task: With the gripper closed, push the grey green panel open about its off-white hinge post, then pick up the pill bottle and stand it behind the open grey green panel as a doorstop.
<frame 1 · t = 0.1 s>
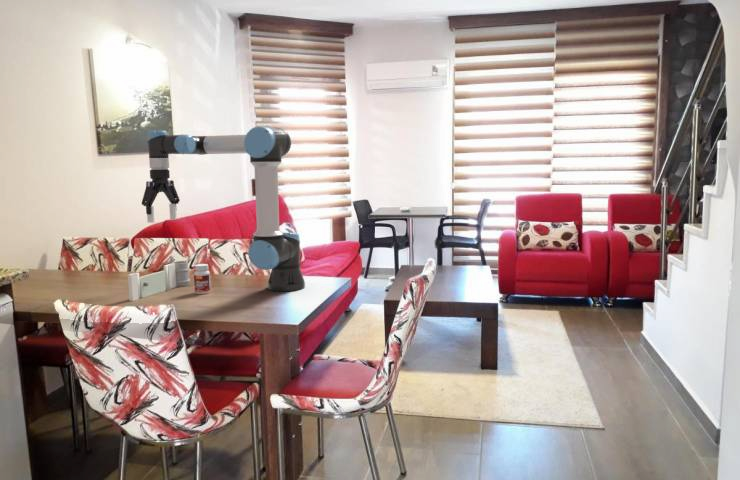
hand: (162, 220, 236), 28 cm above the table, fingers open, 13 cm apart
mug: (178, 284, 246), on the table
grey green panel: (153, 284, 227), point 4 cm above the table, hinge at 0.0°
frame: (166, 289, 236), on the table
pill bottle: (202, 293, 229), on the table
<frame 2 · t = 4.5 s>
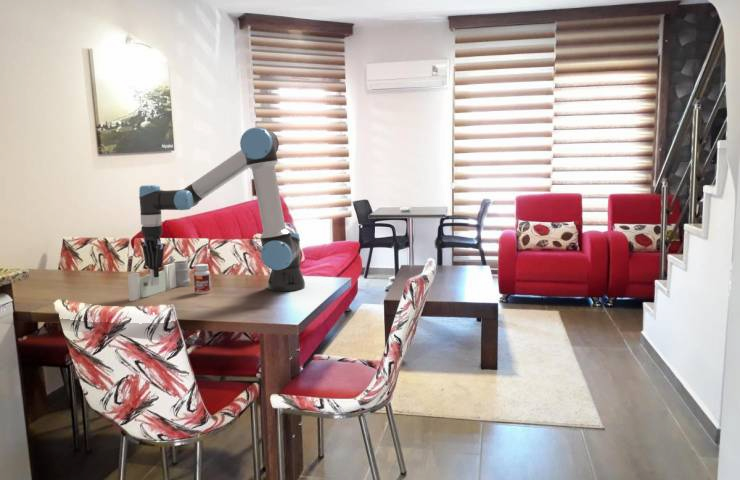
hand: (155, 285, 225), 4 cm above the table, fingers closed
grey green panel: (153, 284, 227), point 4 cm above the table, hinge at 0.0°, touching gripper
everything else where it was.
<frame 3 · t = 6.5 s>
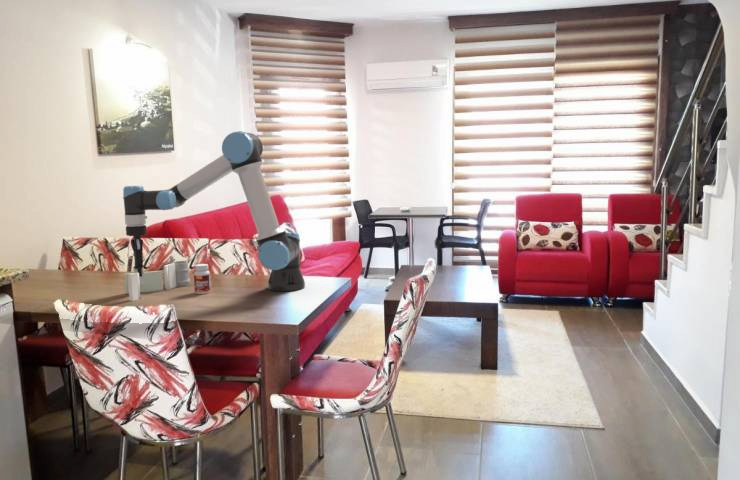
hand: (140, 284, 228), 4 cm above the table, fingers closed
grey green panel: (144, 282, 231), point 4 cm above the table, hinge at 43.5°, touching gripper
everything else where it was.
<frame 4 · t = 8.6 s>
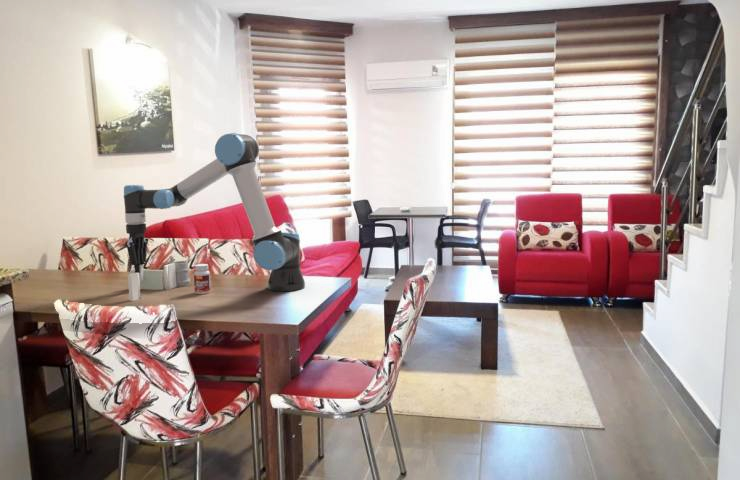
hand: (139, 280, 234), 4 cm above the table, fingers closed
grey green panel: (146, 279, 236), point 4 cm above the table, hinge at 80.0°, touching gripper
everything else where it was.
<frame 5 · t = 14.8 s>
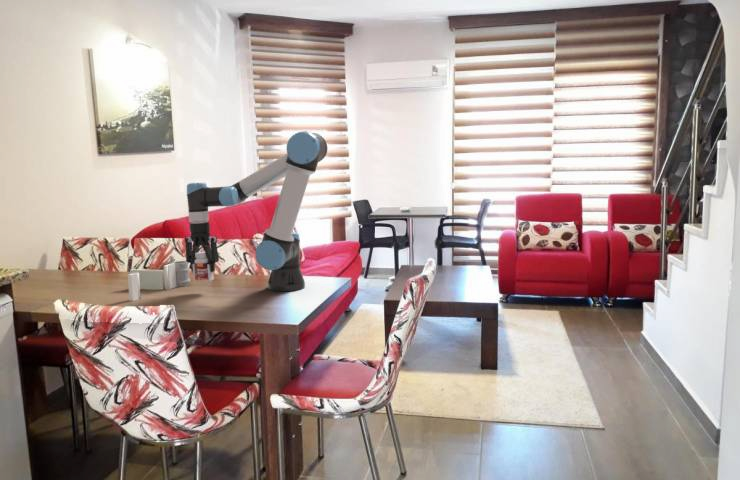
hand: (203, 279, 228), 5 cm above the table, fingers closed on pill bottle, 6 cm apart
grey green panel: (146, 279, 236), point 4 cm above the table, hinge at 80.0°
pill bottle: (204, 281, 228), point 5 cm above the table, touching gripper
everything else where it was.
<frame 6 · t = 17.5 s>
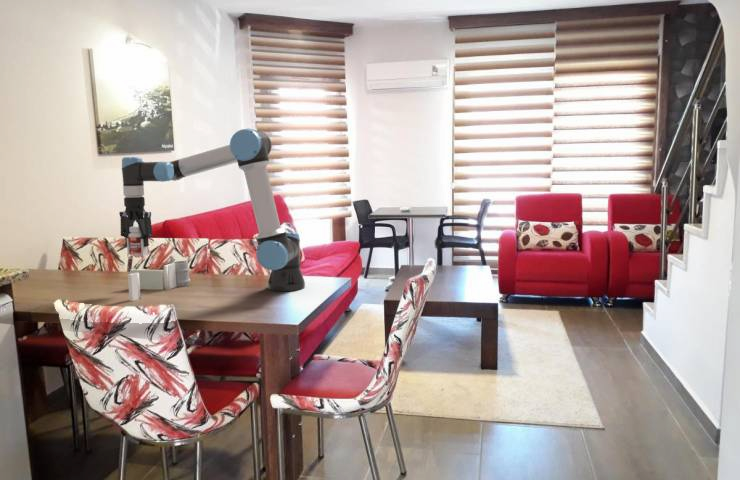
hand: (137, 254, 229), 15 cm above the table, fingers closed on pill bottle, 6 cm apart
pill bottle: (137, 255, 229), point 15 cm above the table, touching gripper
everything else where it was.
when the fingers open (1 cm above the table, at t = 20.2 s): pill bottle drops 1 cm, on the table.
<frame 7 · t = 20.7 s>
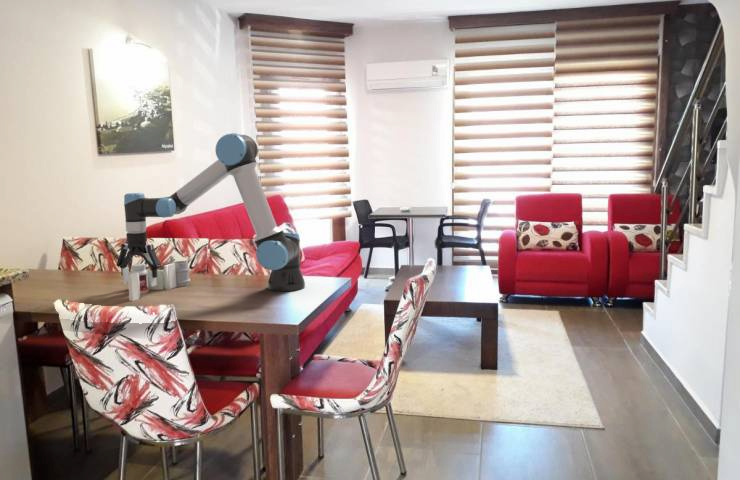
hand: (139, 284, 231), 3 cm above the table, fingers open, 13 cm apart
pill bottle: (140, 292, 231), on the table
everything else where it was.
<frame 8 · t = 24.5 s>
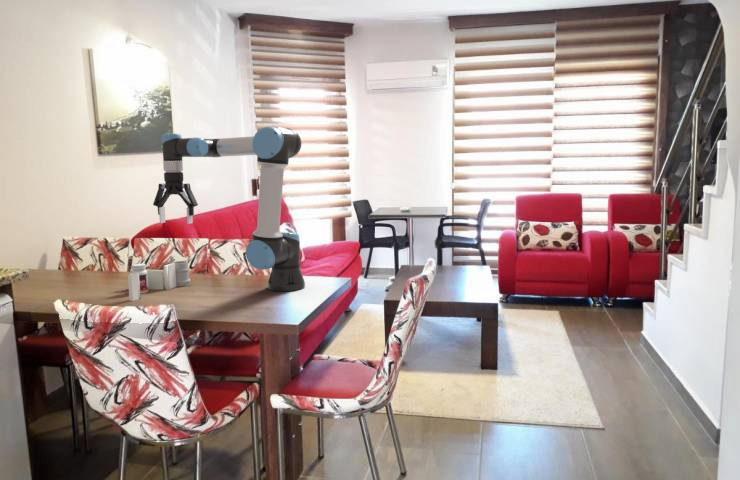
hand: (176, 223, 238), 27 cm above the table, fingers open, 13 cm apart
nothing on the table moved.
at the end: grey green panel at +80° (first picture: +0°); pill bottle inside the target area (0.2 cm from its centre), on the table; pill bottle tilted 0° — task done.
